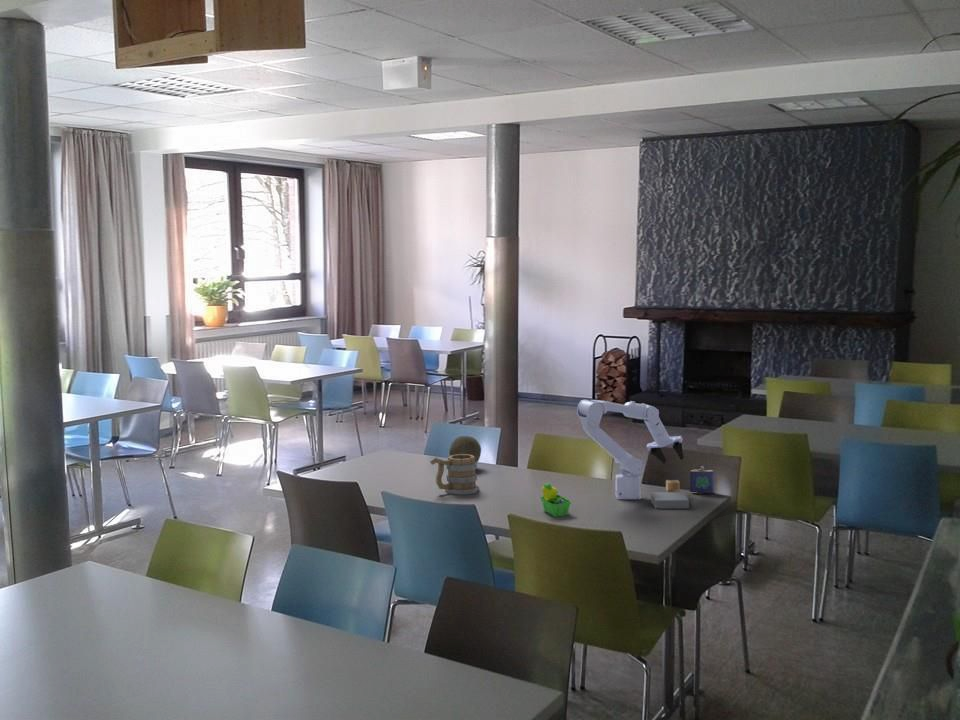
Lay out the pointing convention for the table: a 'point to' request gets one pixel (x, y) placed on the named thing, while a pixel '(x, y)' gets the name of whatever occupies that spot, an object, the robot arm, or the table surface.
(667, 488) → the oak block
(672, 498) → the base block
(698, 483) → the flask
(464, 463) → the tankard
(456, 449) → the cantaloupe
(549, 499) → the fruit basket
